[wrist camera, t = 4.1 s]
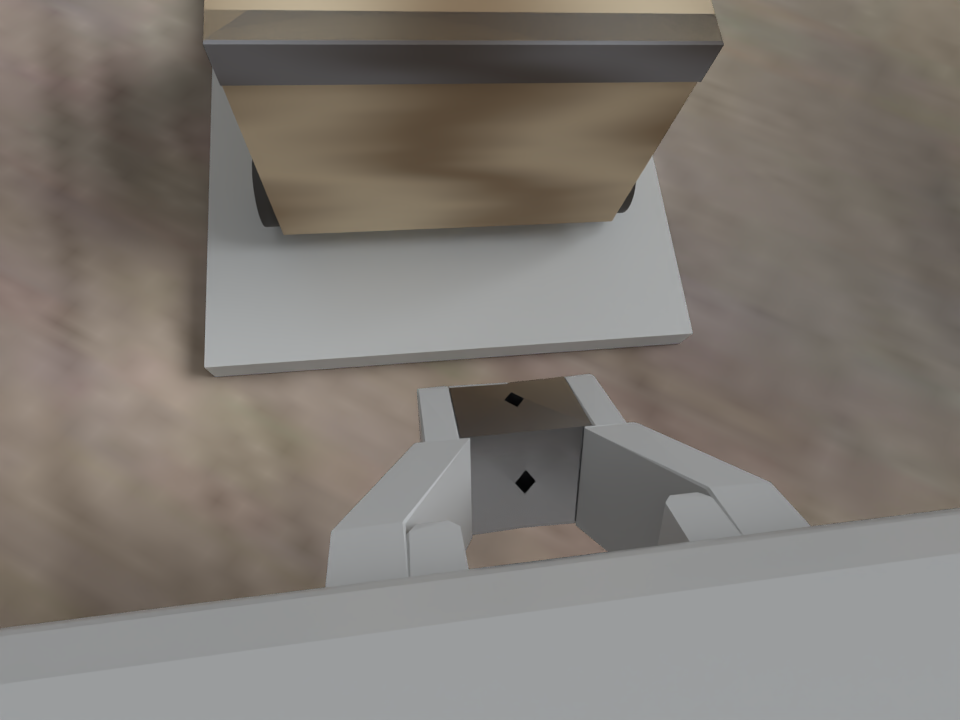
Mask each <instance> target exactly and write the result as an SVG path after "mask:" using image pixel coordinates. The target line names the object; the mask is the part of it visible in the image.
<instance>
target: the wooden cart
mask: <svg viewBox="0 0 960 720" xmlns="http://www.w3.org/2000/svg"><path fill="white" fill-rule="evenodd" d="M723 45H724V44H723V40H722V37H721V33H720V30H719V26H718V23H717V19H716V16H715V12H714V9H713V5H712V2H711V0H204V28H203V46H204V48H205V51H206V53H207V55H208V58H209V60H210V63H211V65H212V67H213V70H214V72H215V75H216V77H217V79H218V82H219V84H220V86H222V87H223V89H224V92H225V94H226V97H227V99H228V101H229V104H230V106H231V109H232V111H233V114H234V116H235V118H236V121H237V123H238V126H239V128H240V130H241V133H242V135H243V138H244V140H245V143H246V145H247V147H248V150H249V152H250V155H251V157H252V180H253V189H254V196H255V201H256V206H257V210H258V214H259V217H260V220H261V222H262V224H263V225H264V226H265V227H279V226H280V227H281V230H282V232H283V234H284V235H294V234H318V233H342V232H366V231H390V230H414V229H439V228H463V227H487V226H511V225H535V224H559V223H583V222H607V221H612V220H613V219H614V217H615V215H616V214H617V213H624V212H626V211H627V210H628V208H629V207H630V205H631V202H632V200H633V196H634V192H635V186H636V181H637V180H638V178H639V176H640V175H641V173H642V171H643V170H644V168H645V167H646V165H647V163H648V162H649V160H650V158H651V157H652V155H653V154H654V152H655V150H656V149H657V147H658V145H659V144H660V142H661V141H662V139H663V137H664V136H665V134H666V132H667V131H668V129H669V128H670V126H671V124H672V123H673V121H674V119H675V118H676V116H677V115H678V113H679V111H680V110H681V108H682V106H683V105H684V103H685V101H686V100H687V98H688V97H689V95H690V93H691V92H692V90H693V88H694V87H695V85H696V84H697V82H701V81H702V79H703V78H704V76H705V74H706V73H707V71H708V70H709V68H710V66H711V65H712V63H713V62H714V60H715V58H716V57H717V55H718V53H719V52H720V50H721V49H722V47H723Z"/></svg>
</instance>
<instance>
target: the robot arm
mask: <svg viewBox="0 0 960 720" xmlns="http://www.w3.org/2000/svg"><path fill="white" fill-rule="evenodd" d="M417 400H418V416H419V431H420V443H414V444H413V445H412V446H411V447H410V448H409V449H408V451H407V452H406V453H405V454H404V455H403V456H402V457H401V458H400V459H399V460H398V461H397V462H396V463H395V464H394V465H393V466H392V468H391V469H390V470H389V471H388V472H387V473H386V474H385V475H384V476H383V477H382V478H381V479H380V480H379V481H378V482H377V483H376V484H375V486H374V487H373V488H372V489H371V490H370V491H369V492H368V493H367V494H366V495H365V496H364V497H363V498H362V499H361V500H360V501H359V502H358V504H357V505H356V506H355V507H354V508H353V509H352V510H351V511H350V512H349V513H348V514H347V515H346V516H345V517H344V518H343V519H342V521H341V522H340V523H339V524H338V525H337V526H336V527H335V528H334V529H333V530H332V531H331V539H330V548H329V558H328V567H327V577H326V586H325V587H324V588H316V589H308V590H300V591H292V592H284V593H276V594H268V595H260V596H252V597H244V598H236V599H228V600H220V601H212V602H204V603H196V604H188V605H180V606H172V607H164V608H156V609H148V610H141V611H133V612H125V613H117V614H109V615H101V616H93V617H85V618H77V619H69V620H61V621H54V622H46V623H38V624H30V625H22V626H14V627H6V628H0V720H960V508H953V509H945V510H938V511H930V512H922V513H914V514H906V515H898V516H890V517H882V518H874V519H866V520H858V521H850V522H842V523H834V524H826V525H818V526H810V525H809V524H808V523H807V521H806V520H805V519H804V518H803V517H802V516H801V515H800V514H799V513H798V512H797V511H796V509H795V508H794V507H793V506H792V505H791V504H790V503H789V502H788V501H787V500H786V499H785V497H784V496H783V495H782V494H781V493H780V492H779V491H778V490H777V489H776V488H775V487H774V486H773V484H772V483H771V482H769V481H766V480H764V479H762V478H760V477H757V476H755V475H753V474H751V473H748V472H746V471H744V470H742V469H739V468H737V467H735V466H733V465H731V464H728V463H726V462H724V461H722V460H719V459H717V458H715V457H713V456H710V455H708V454H706V453H704V452H701V451H699V450H697V449H695V448H692V447H690V446H688V445H686V444H683V443H681V442H679V441H677V440H674V439H672V438H670V437H668V436H665V435H663V434H661V433H659V432H657V431H654V430H652V429H650V428H648V427H645V426H643V425H641V424H639V423H636V422H630V423H626V421H625V420H624V418H623V417H622V415H621V414H620V412H619V411H618V410H617V408H616V407H615V405H614V404H613V402H612V401H611V400H610V398H609V397H608V395H607V394H606V392H605V391H604V390H603V388H602V387H601V385H600V384H599V382H598V381H597V379H596V378H595V377H594V375H591V374H584V375H576V376H568V377H556V378H547V379H538V380H529V381H520V382H510V383H492V384H476V385H461V386H448V387H447V386H440V387H431V388H421V389H417ZM569 523H576V526H577V527H579V528H580V529H581V530H582V531H583V532H585V533H586V534H587V535H588V536H590V537H591V538H592V539H593V540H594V541H596V542H597V543H598V544H599V545H600V546H602V547H603V548H604V549H605V550H607V551H608V552H603V553H595V554H587V555H579V556H571V557H563V558H555V559H547V560H539V561H531V562H523V563H515V564H507V565H499V566H491V567H483V568H475V569H469V568H468V563H467V558H466V553H465V551H466V549H467V547H468V545H469V543H470V541H471V539H472V535H476V534H483V533H489V532H496V531H503V530H510V529H517V528H524V527H535V526H546V525H558V524H569Z"/></svg>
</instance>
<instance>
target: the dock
mask: <svg viewBox="0 0 960 720" xmlns="http://www.w3.org/2000/svg"><path fill="white" fill-rule="evenodd" d="M691 334H693V332H692V328H691V323H690V319H689V314H688V310H687V306H686V301H685V297H684V292H683V288H682V283H681V279H680V275H679V270H678V266H677V261H676V257H675V252H674V248H673V244H672V239H671V235H670V230H669V226H668V221H667V217H666V213H665V208H664V204H663V199H662V195H661V191H660V186H659V182H658V177H657V173H656V168H655V164H654V160H653V155H652V157H651V158H650V160H649V162H648V163H647V165H646V167H645V168H644V170H643V171H642V173H641V175H640V176H639V178H638V180H637V181H636V186H635V192H634V196H633V200H632V202H631V205H630V207H629V208H628V210H627V211H626V212H624V213H617V214H616V215H615V217H614V219H613V220H612V221H607V222H583V223H559V224H535V225H511V226H487V227H463V228H439V229H414V230H390V231H366V232H342V233H318V234H294V235H284V234H283V232H282V230H281V227H280V226H279V227H265V226H264V225H263V224H262V222H261V220H260V217H259V214H258V210H257V206H256V201H255V196H254V189H253V180H252V157H251V155H250V152H249V150H248V147H247V145H246V143H245V140H244V138H243V135H242V133H241V130H240V128H239V126H238V123H237V121H236V118H235V116H234V114H233V111H232V109H231V106H230V104H229V101H228V99H227V97H226V94H225V92H224V89H223V87H222V86H220V84H219V82H218V79H217V77H216V75H215V72H214V70H213V67H212V99H211V136H210V173H209V210H208V247H207V284H206V322H205V359H204V368H205V369H207V370H208V371H209V372H210V373H211V374H212V375H214V376H215V377H222V376H236V375H250V374H263V373H277V372H291V371H305V370H319V369H333V368H347V367H361V366H375V365H388V364H402V363H416V362H430V361H444V360H458V359H472V358H486V357H499V356H513V355H527V354H541V353H555V352H569V351H583V350H597V349H611V348H624V347H638V346H652V345H666V344H680V343H681V342H682V341H684V340H685V339H686V338H687V337H689V336H690V335H691Z"/></svg>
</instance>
